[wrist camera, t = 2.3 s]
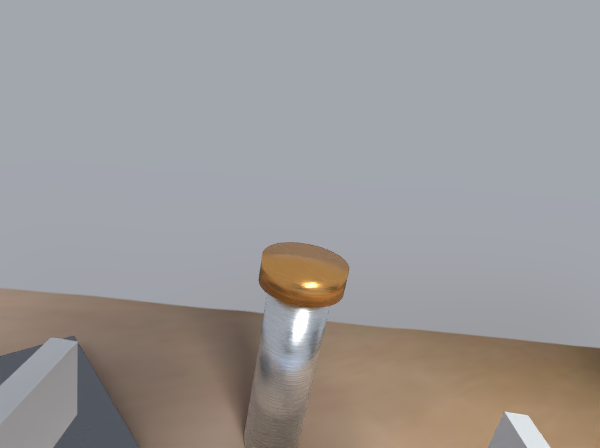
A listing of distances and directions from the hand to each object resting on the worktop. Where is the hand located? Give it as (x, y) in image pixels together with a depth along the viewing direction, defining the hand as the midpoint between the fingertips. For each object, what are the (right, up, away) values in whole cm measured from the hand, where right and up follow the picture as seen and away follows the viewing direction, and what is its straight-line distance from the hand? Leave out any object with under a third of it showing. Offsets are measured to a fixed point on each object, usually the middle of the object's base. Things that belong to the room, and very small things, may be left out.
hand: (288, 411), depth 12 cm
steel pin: (-2, -8, +13) cm, 16 cm away
